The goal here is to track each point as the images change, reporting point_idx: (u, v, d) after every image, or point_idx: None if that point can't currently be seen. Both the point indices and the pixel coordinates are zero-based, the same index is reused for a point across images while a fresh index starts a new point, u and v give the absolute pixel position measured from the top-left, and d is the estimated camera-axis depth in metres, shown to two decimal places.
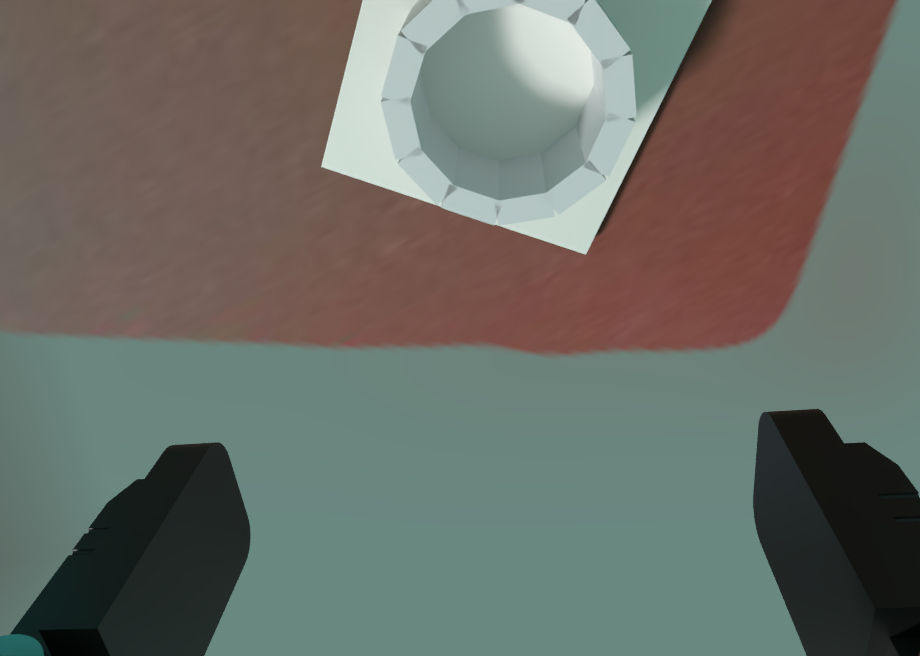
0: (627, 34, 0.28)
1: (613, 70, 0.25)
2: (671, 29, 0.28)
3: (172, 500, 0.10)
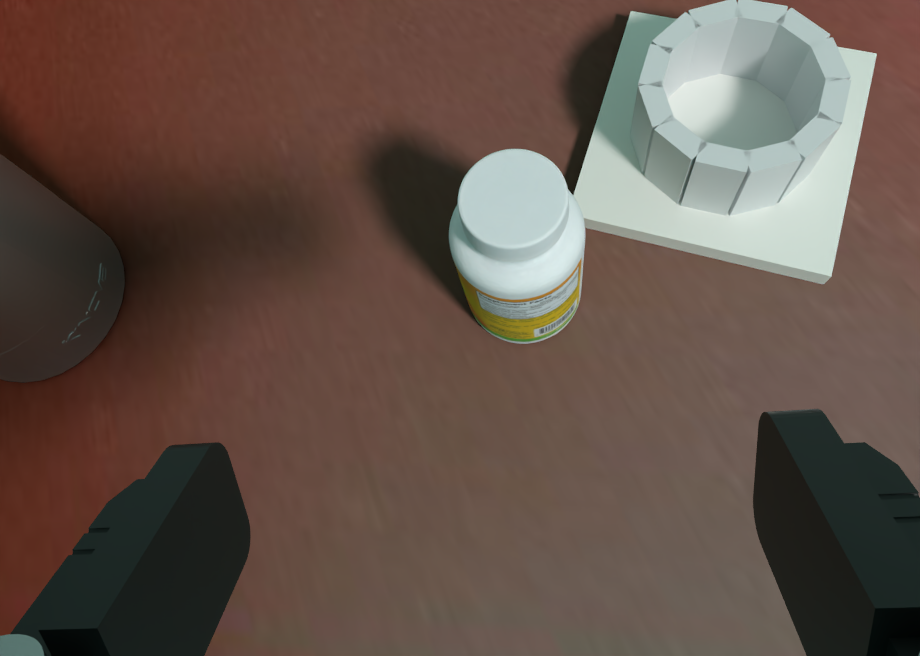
0: None
1: (701, 19, 0.33)
2: None
3: (172, 500, 0.10)
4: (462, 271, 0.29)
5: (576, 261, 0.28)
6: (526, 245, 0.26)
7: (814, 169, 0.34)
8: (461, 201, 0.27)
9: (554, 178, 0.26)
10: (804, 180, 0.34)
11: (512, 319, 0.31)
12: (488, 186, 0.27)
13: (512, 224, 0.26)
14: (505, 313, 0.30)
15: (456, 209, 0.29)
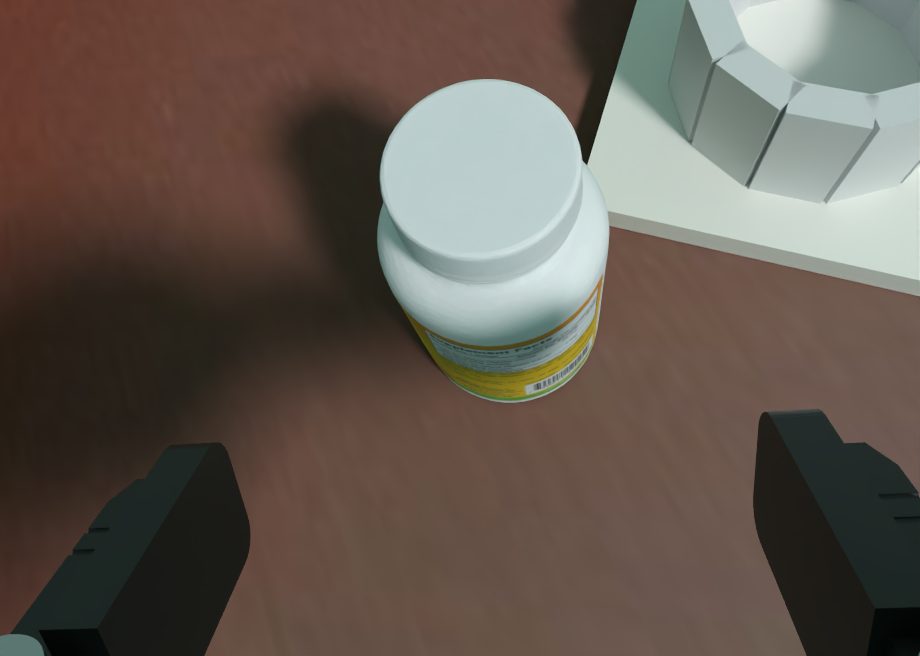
0: None
1: None
2: None
3: (172, 500, 0.10)
4: (398, 298, 0.17)
5: (595, 280, 0.16)
6: (503, 253, 0.14)
7: None
8: (386, 174, 0.15)
9: (555, 130, 0.14)
10: None
11: (488, 373, 0.19)
12: (435, 146, 0.15)
13: (478, 215, 0.14)
14: (476, 364, 0.18)
15: None
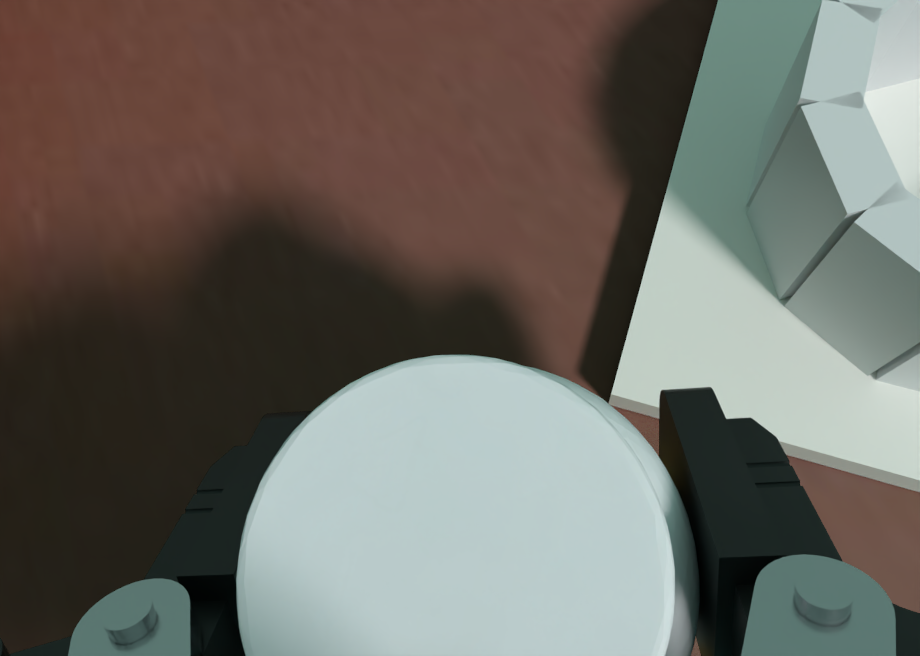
0: None
1: None
2: None
3: None
4: None
5: None
6: None
7: None
8: (249, 573, 0.07)
9: (615, 492, 0.07)
10: None
11: None
12: (354, 512, 0.07)
13: None
14: None
15: None
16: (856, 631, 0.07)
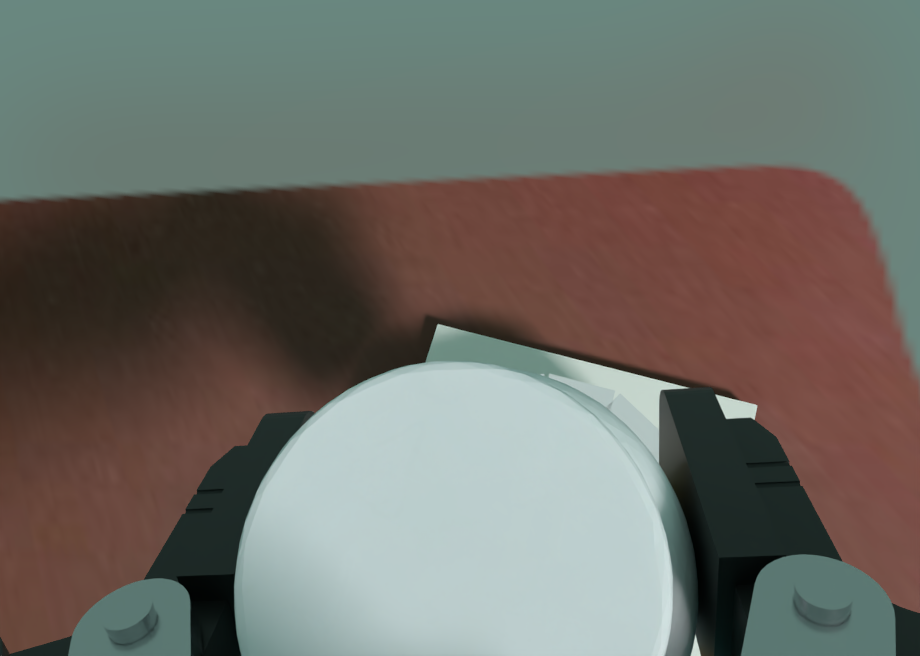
0: None
1: None
2: (489, 360, 0.28)
3: None
4: None
5: None
6: None
7: None
8: (246, 580, 0.07)
9: (613, 499, 0.07)
10: None
11: None
12: (351, 518, 0.07)
13: None
14: None
15: None
16: (856, 631, 0.07)
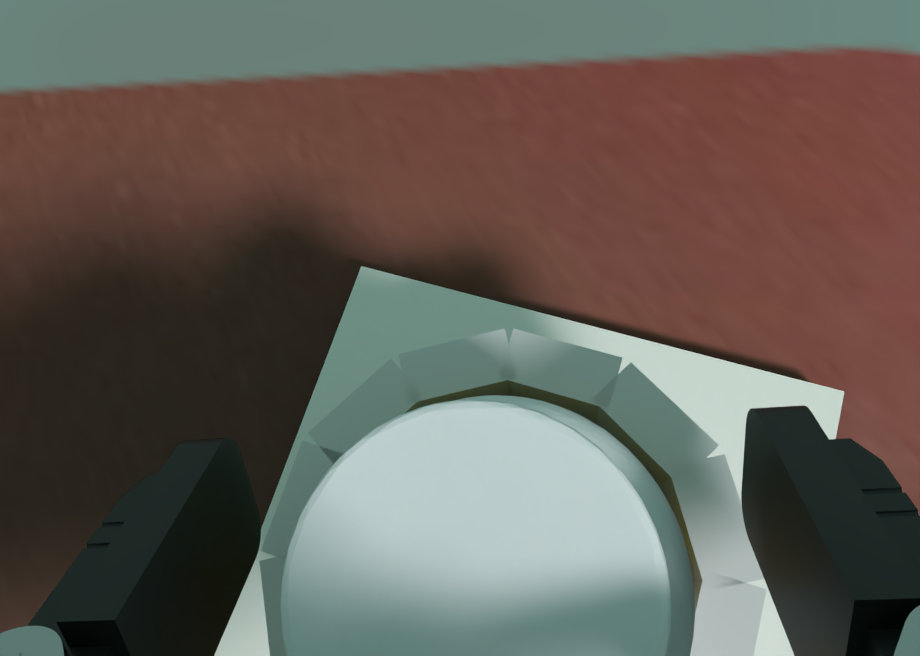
0: None
1: (424, 380, 0.14)
2: (434, 319, 0.19)
3: (185, 494, 0.10)
4: None
5: None
6: None
7: None
8: (291, 598, 0.08)
9: (618, 525, 0.07)
10: None
11: None
12: (385, 543, 0.08)
13: None
14: None
15: None
16: None
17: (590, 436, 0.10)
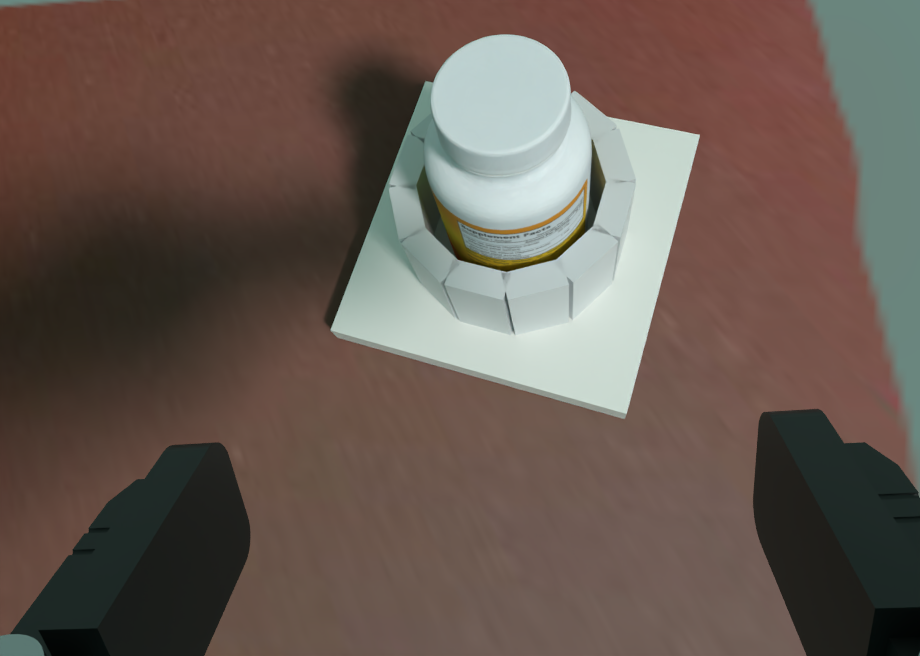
0: None
1: None
2: None
3: (172, 500, 0.10)
4: (440, 196, 0.23)
5: (581, 180, 0.23)
6: (516, 150, 0.20)
7: (617, 278, 0.29)
8: (435, 99, 0.21)
9: (552, 68, 0.21)
10: (604, 292, 0.29)
11: (503, 260, 0.26)
12: (468, 80, 0.21)
13: (498, 125, 0.20)
14: (495, 251, 0.25)
15: (432, 121, 0.24)
16: None
17: None
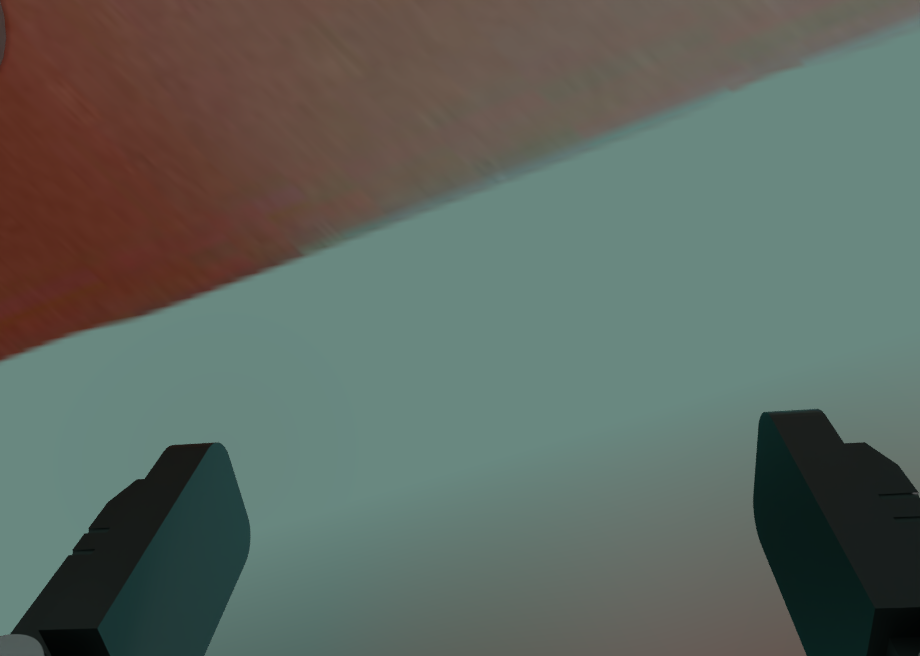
0: None
1: None
2: None
3: (172, 500, 0.10)
4: None
5: None
6: None
7: None
8: None
9: None
10: None
11: None
12: None
13: None
14: None
15: None
16: None
17: None
